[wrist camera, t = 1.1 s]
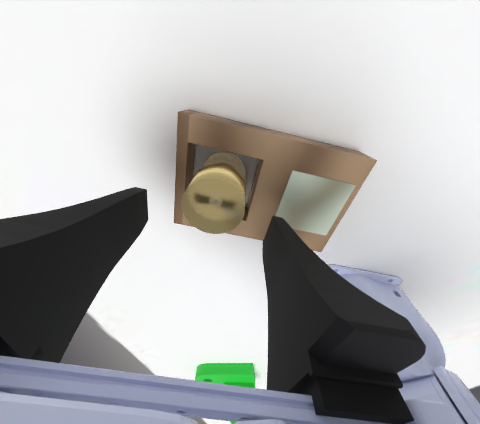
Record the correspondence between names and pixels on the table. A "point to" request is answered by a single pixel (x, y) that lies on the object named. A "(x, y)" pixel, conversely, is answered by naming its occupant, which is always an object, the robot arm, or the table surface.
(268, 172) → the pocket board
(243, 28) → the table surface
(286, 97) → the table surface
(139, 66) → the table surface
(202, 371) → the mechanical part
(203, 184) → the cylinder
